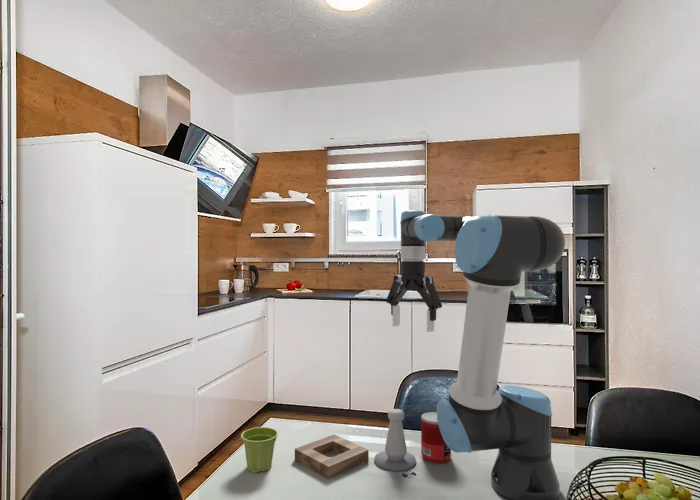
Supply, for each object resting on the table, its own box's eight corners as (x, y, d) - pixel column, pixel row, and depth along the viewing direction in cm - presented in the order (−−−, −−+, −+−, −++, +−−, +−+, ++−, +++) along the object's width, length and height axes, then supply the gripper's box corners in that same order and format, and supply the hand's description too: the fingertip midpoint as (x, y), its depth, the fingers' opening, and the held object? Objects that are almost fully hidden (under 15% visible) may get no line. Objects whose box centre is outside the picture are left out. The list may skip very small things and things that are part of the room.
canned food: (451, 465, 120) (451, 423, 120) (420, 462, 121) (420, 420, 121) (450, 452, 127) (450, 412, 127) (421, 449, 129) (421, 410, 129)
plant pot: (256, 456, 125) (256, 424, 125) (285, 463, 121) (285, 430, 121) (233, 471, 116) (233, 437, 116) (263, 479, 112) (263, 444, 112)
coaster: (424, 461, 121) (424, 459, 121) (397, 475, 114) (397, 473, 114) (393, 448, 129) (393, 446, 129) (365, 460, 122) (365, 458, 122)
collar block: (368, 460, 122) (368, 449, 122) (328, 478, 112) (328, 466, 112) (333, 444, 132) (333, 434, 132) (294, 459, 122) (294, 448, 122)
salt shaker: (380, 460, 121) (380, 411, 121) (391, 452, 126) (391, 405, 126) (400, 466, 118) (400, 415, 118) (410, 457, 122) (410, 409, 122)
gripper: (453, 261, 136) (453, 332, 136) (390, 259, 154) (390, 322, 154) (438, 261, 131) (438, 335, 131) (375, 260, 149) (375, 325, 149)
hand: (412, 328), depth 143 cm, fingers open, 13 cm apart
